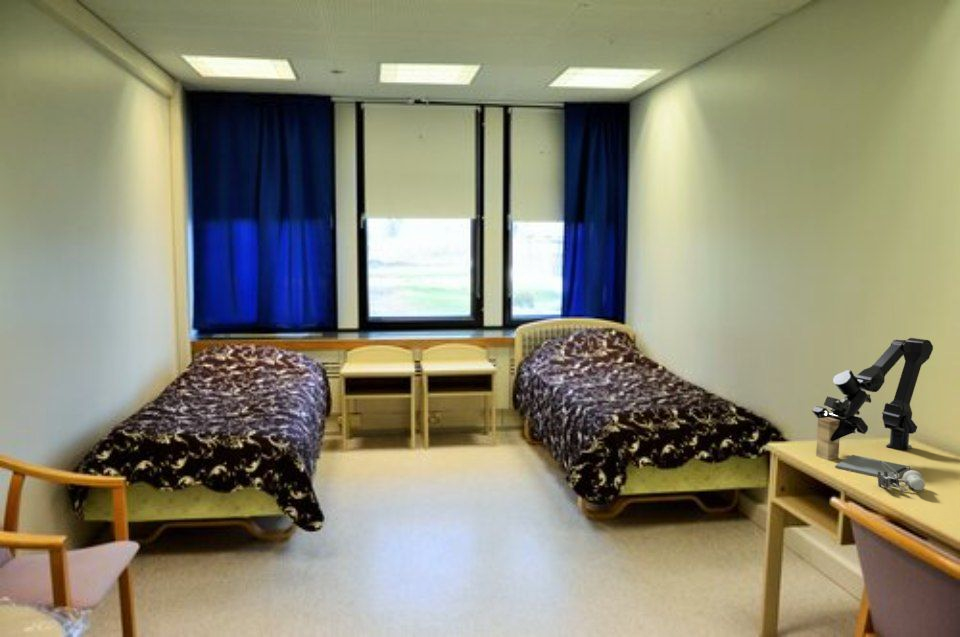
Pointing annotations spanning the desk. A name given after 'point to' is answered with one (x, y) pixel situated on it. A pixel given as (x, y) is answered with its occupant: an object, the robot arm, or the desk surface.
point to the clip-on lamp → (909, 478)
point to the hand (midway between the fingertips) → (825, 438)
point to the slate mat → (869, 466)
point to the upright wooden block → (827, 438)
